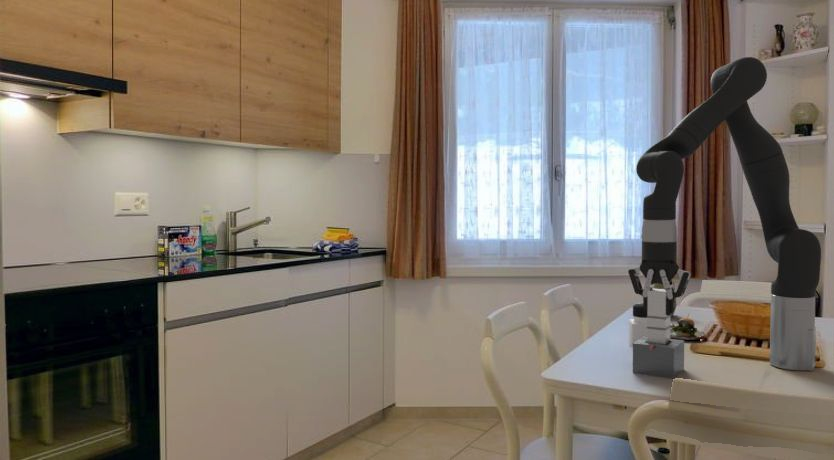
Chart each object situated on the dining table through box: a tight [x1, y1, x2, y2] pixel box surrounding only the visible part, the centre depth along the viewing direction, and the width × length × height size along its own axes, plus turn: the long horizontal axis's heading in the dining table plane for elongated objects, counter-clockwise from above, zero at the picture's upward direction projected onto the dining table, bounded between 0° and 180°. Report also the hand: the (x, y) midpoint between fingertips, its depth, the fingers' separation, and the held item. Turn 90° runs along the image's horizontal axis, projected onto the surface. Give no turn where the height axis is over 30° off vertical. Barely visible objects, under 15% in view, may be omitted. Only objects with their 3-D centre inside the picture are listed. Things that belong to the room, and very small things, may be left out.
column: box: [647, 288, 672, 345], centre depth 148 cm, size 4×4×18 cm
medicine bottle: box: [628, 302, 647, 348], centre depth 176 cm, size 7×7×12 cm
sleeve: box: [632, 336, 685, 380], centre depth 148 cm, size 16×16×8 cm
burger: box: [670, 314, 707, 341], centre depth 187 cm, size 12×12×8 cm
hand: (658, 313), depth 148 cm, fingers closed on column, 4 cm apart
